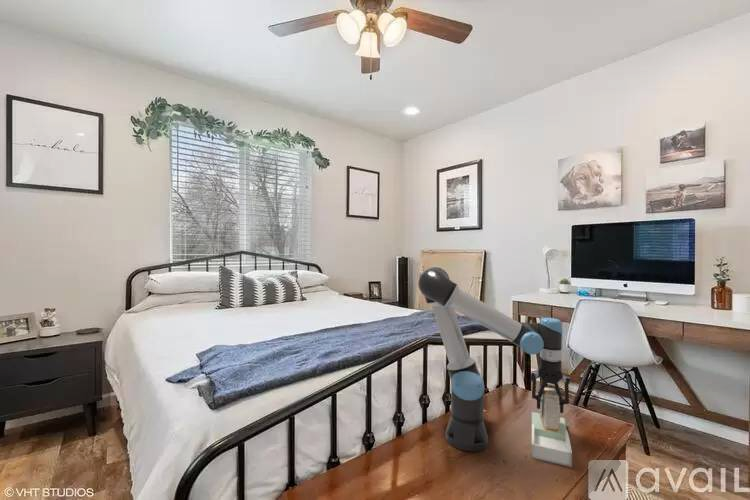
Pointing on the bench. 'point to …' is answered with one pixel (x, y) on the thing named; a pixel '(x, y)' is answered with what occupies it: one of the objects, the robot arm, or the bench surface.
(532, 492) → the bench surface
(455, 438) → the robot arm
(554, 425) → the supplement box
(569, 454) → the tray
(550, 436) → the board
